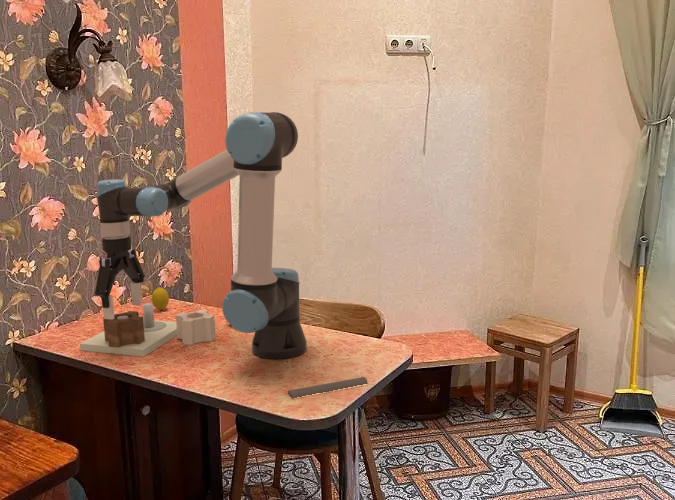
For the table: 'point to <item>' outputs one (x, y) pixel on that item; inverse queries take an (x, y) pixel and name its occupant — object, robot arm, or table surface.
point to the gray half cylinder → (327, 387)
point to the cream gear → (195, 327)
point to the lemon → (160, 298)
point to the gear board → (154, 338)
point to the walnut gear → (124, 329)
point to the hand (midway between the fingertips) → (123, 311)
